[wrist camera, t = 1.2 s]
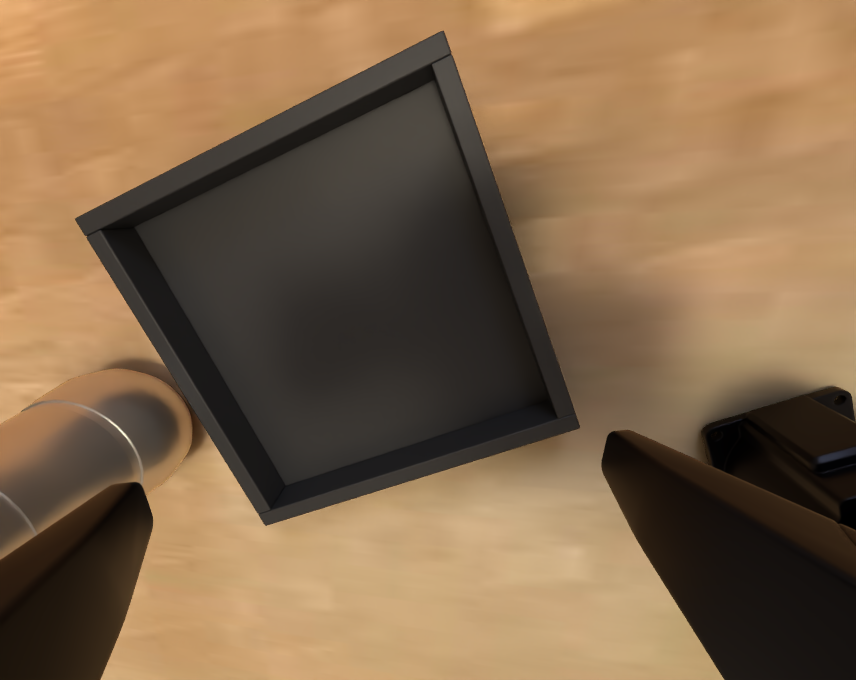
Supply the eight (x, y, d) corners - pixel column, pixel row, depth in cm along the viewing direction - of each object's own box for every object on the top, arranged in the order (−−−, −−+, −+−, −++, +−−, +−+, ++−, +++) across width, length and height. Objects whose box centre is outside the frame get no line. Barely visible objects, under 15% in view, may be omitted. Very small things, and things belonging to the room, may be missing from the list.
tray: (567, 403, 21) (580, 428, 19) (284, 494, 24) (265, 526, 22) (445, 53, 17) (443, 28, 14) (119, 216, 20) (73, 218, 17)
